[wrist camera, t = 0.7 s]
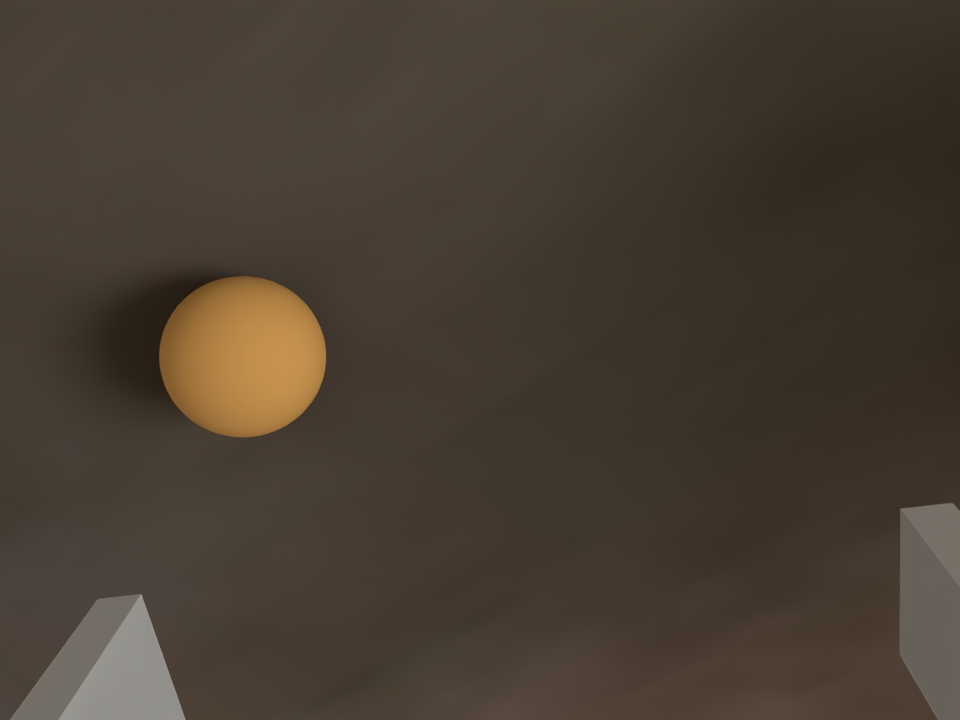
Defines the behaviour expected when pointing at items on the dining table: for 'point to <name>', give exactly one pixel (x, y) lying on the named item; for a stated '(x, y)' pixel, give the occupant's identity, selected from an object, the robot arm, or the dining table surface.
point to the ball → (242, 356)
